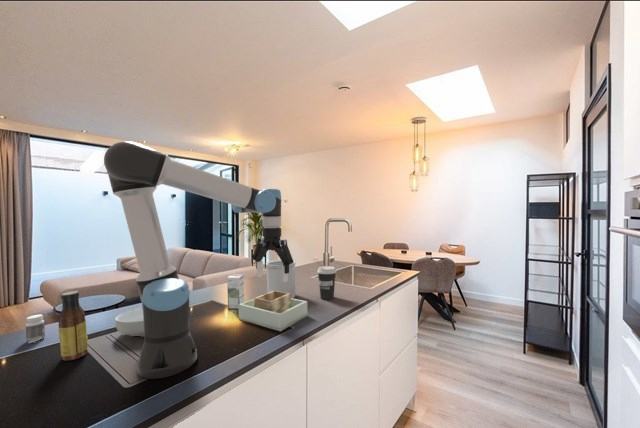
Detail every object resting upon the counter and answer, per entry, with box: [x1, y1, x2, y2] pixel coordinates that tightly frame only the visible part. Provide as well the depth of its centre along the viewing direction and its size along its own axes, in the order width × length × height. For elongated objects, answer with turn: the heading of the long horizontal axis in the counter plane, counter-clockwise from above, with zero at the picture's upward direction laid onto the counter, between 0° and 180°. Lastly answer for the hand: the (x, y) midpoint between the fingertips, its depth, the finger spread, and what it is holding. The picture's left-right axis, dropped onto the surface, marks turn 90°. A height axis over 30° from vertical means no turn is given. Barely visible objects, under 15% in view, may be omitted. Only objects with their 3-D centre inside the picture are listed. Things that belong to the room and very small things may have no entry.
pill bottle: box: [24, 313, 46, 343], centre depth 97 cm, size 5×5×8 cm
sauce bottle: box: [57, 290, 89, 362], centre depth 85 cm, size 6×6×20 cm
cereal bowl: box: [114, 307, 144, 337], centre depth 102 cm, size 17×17×7 cm
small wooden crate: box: [253, 290, 291, 313], centre depth 114 cm, size 12×9×8 cm
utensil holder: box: [265, 259, 296, 299], centre depth 141 cm, size 15×15×18 cm
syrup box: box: [226, 274, 245, 310], centre depth 127 cm, size 6×6×14 cm
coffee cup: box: [316, 265, 337, 301], centre depth 138 cm, size 10×10×15 cm
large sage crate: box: [238, 298, 309, 332], centre depth 114 cm, size 17×22×6 cm
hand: (272, 279), depth 114 cm, fingers open, 13 cm apart
